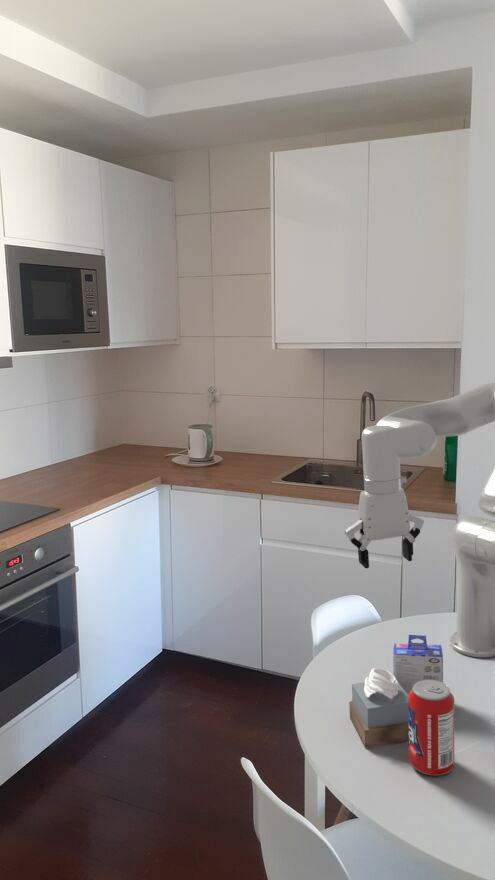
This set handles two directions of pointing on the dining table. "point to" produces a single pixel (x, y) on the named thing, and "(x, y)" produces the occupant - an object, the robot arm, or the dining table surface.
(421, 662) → the ink cartridge box
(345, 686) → the dining table surface
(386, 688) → the white cloth bundle
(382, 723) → the top block
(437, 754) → the soda can
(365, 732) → the base block
